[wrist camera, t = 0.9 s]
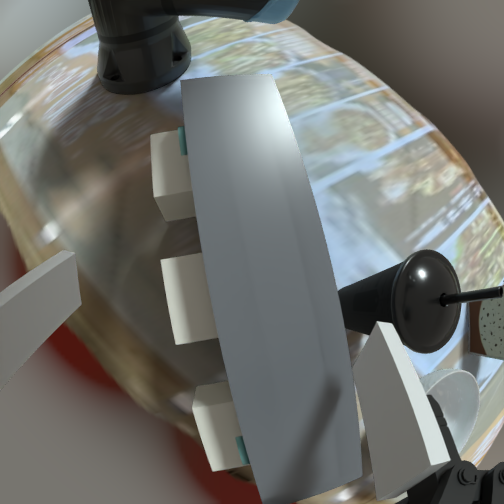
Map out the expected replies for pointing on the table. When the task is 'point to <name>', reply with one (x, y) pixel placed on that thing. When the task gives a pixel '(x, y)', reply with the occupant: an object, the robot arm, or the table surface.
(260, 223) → the keypad
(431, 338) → the drinking cup
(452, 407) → the cereal bowl
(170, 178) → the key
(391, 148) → the table surface
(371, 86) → the table surface
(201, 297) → the key middle
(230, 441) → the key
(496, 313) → the mint chip dessert
